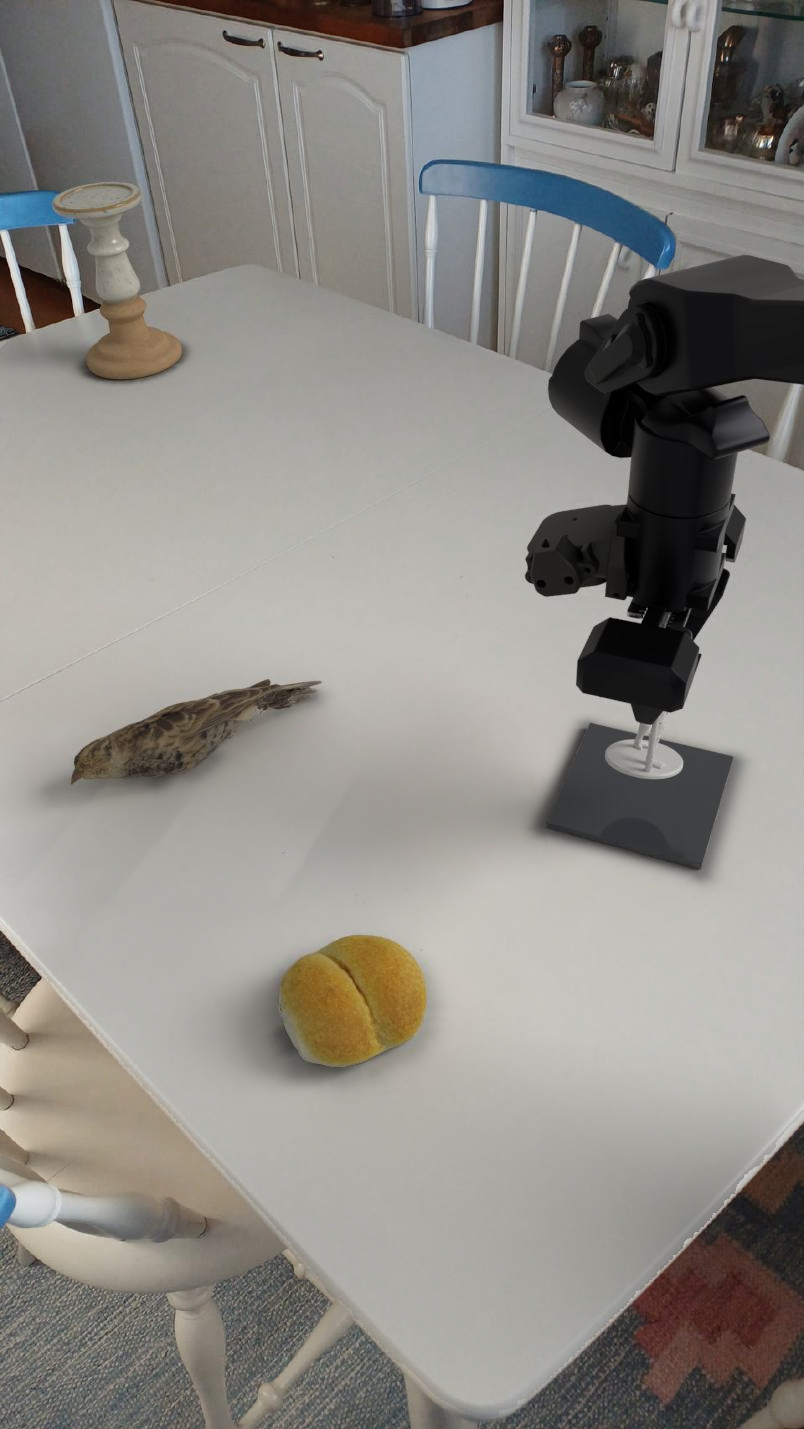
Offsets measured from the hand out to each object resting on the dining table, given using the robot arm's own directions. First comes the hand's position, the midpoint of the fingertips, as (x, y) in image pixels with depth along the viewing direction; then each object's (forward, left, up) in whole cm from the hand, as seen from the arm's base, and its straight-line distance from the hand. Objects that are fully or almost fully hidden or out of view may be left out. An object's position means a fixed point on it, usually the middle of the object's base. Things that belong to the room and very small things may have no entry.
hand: (654, 696), depth 72 cm
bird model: (+33, +7, -10) cm, 35 cm away
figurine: (0, +2, -5) cm, 5 cm away
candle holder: (+80, -53, -10) cm, 97 cm away
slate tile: (0, 0, -10) cm, 10 cm away
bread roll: (+12, +24, -10) cm, 28 cm away
